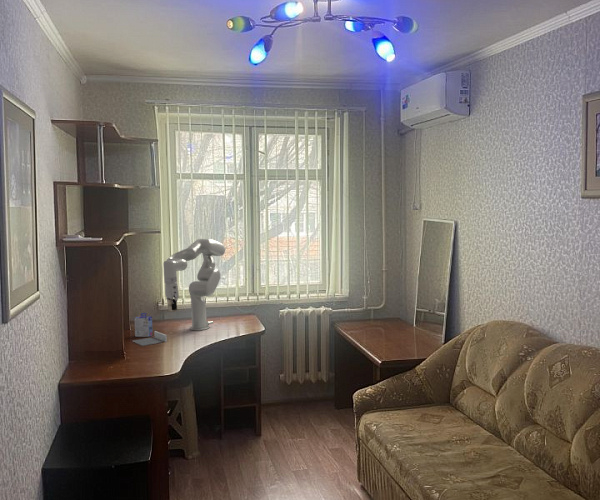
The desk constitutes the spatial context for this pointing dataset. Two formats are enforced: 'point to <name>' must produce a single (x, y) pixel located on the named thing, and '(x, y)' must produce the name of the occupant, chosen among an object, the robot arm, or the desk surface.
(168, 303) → the birch cylinder
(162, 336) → the plate
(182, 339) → the desk surface
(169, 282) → the robot arm
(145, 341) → the board
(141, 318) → the ink cartridge box
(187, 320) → the desk surface
